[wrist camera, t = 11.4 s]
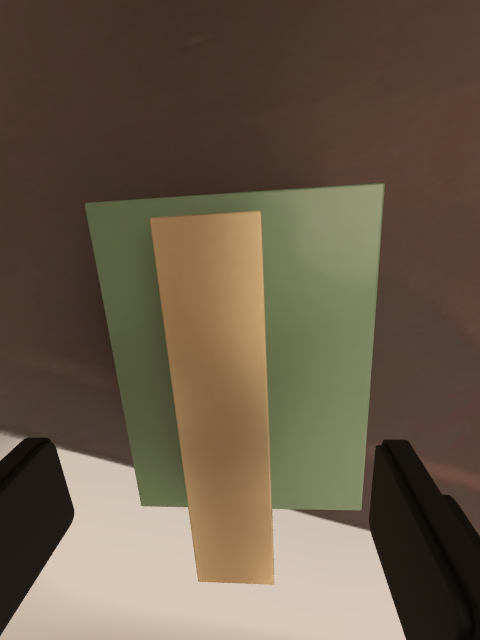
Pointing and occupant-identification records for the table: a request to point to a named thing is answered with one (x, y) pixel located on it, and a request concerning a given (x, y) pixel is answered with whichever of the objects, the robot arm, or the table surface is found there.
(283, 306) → the box lid
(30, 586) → the robot arm
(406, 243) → the table surface
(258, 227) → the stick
